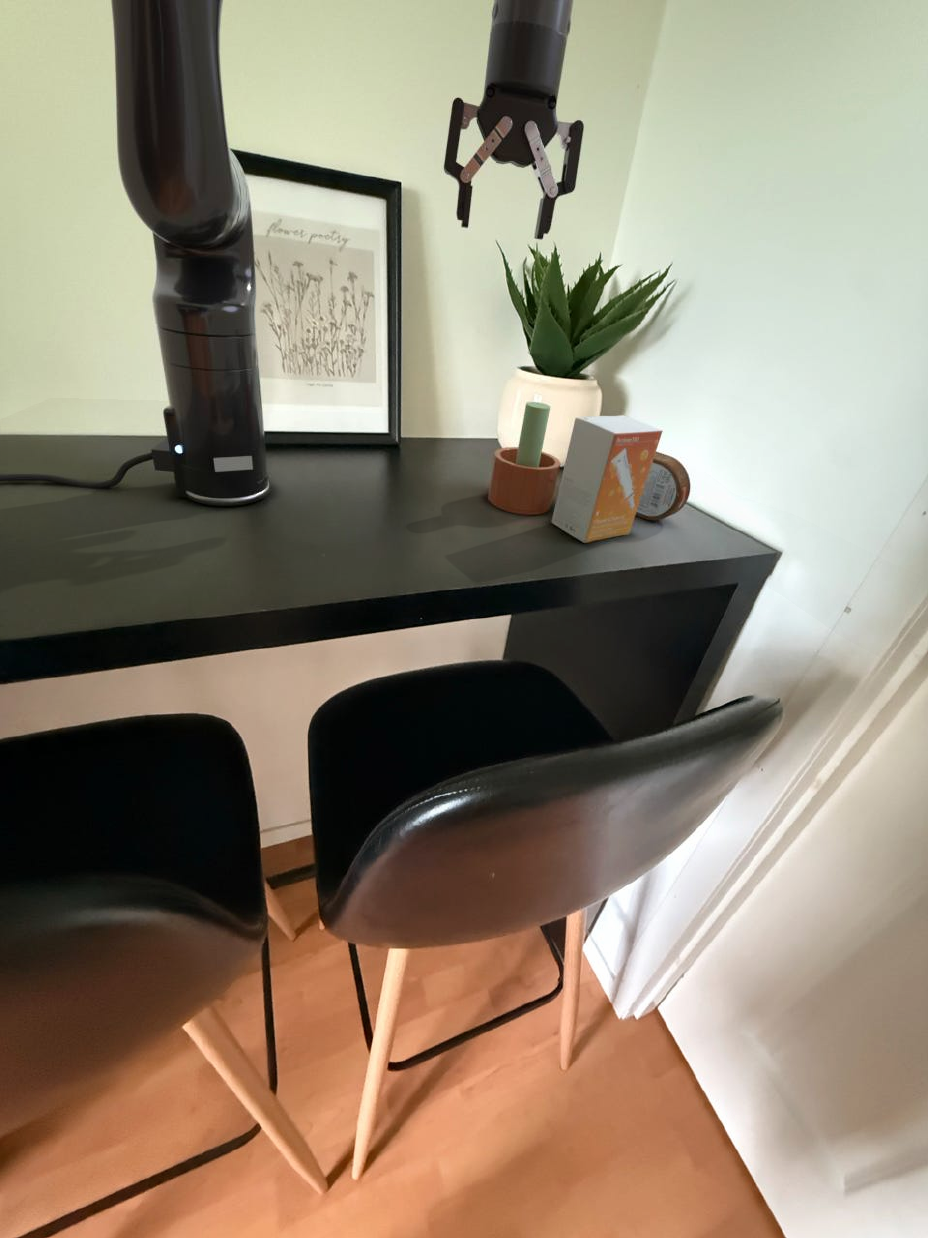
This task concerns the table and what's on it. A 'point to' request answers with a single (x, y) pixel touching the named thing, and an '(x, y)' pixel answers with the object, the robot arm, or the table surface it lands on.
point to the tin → (664, 489)
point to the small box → (604, 476)
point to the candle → (532, 434)
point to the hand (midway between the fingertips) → (501, 233)
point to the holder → (522, 483)
